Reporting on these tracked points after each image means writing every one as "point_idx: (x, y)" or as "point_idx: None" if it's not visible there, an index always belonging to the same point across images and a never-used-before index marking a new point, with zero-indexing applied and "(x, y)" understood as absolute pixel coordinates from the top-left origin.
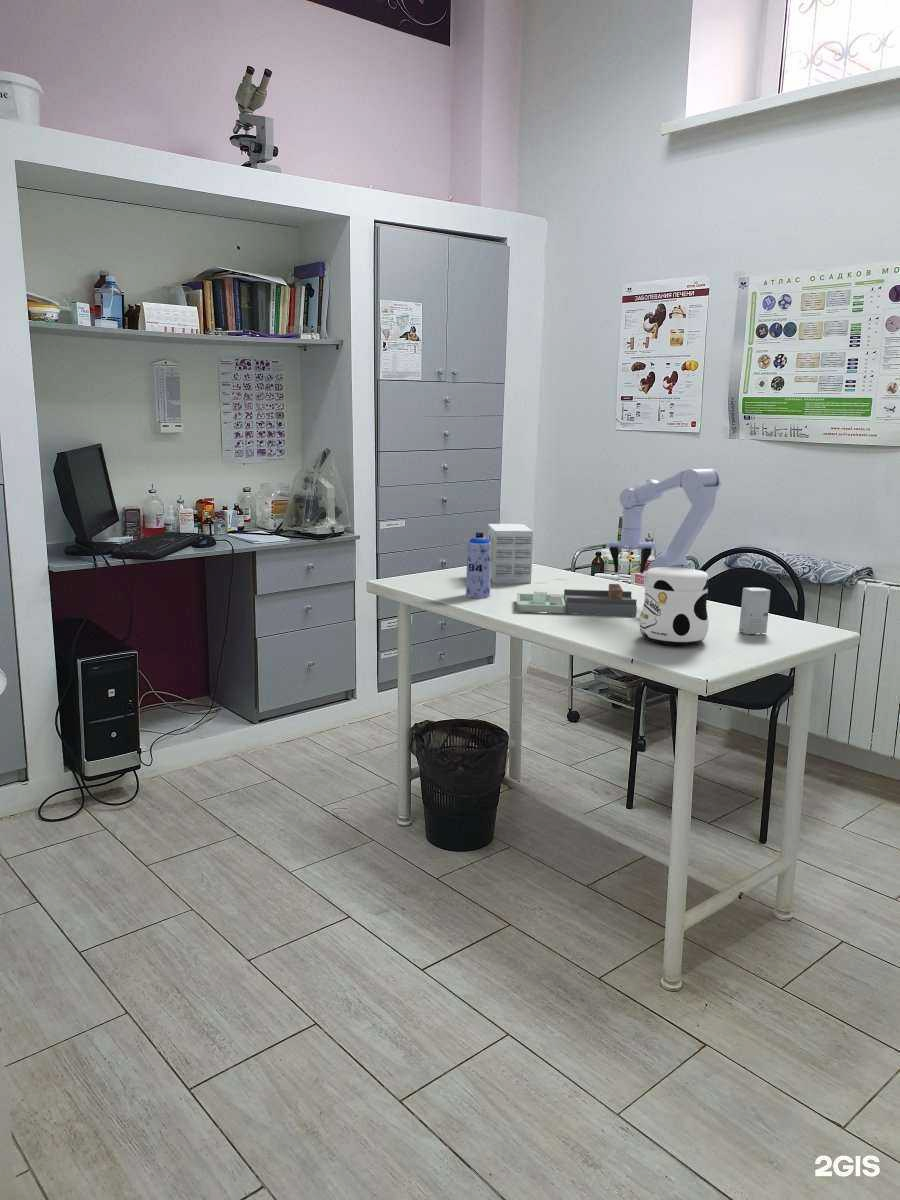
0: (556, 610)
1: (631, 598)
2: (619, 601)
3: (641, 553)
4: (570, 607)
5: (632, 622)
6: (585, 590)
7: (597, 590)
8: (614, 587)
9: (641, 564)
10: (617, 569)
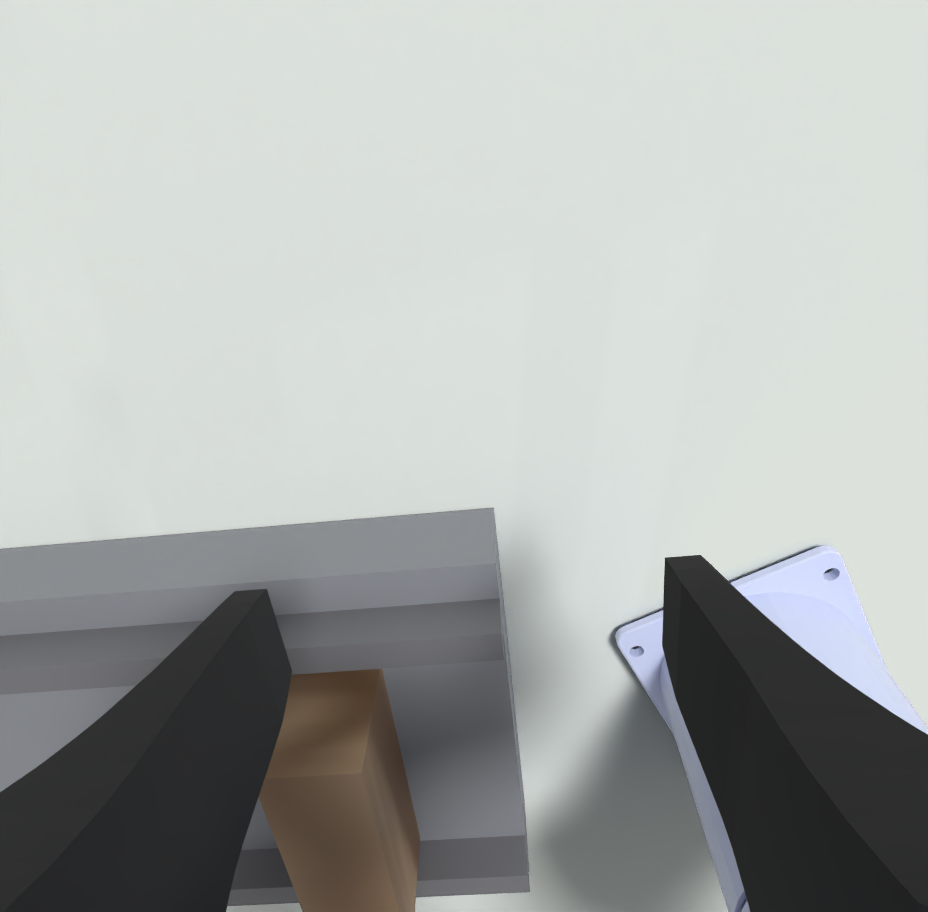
0: None
1: (502, 679)
2: None
3: (837, 875)
4: None
5: (492, 906)
6: (45, 689)
7: (156, 665)
8: (329, 892)
9: (716, 733)
10: (275, 722)
